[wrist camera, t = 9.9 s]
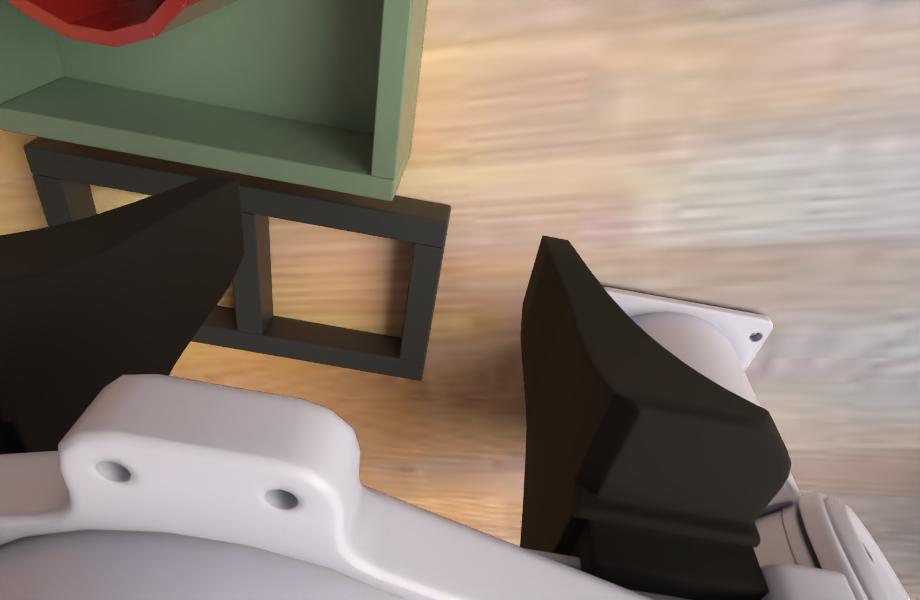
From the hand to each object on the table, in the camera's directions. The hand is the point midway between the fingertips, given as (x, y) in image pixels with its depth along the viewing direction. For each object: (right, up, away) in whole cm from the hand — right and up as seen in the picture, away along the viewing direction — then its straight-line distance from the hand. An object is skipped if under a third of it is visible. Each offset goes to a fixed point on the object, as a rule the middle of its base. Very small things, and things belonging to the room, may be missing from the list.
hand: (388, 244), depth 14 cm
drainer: (-7, +1, +12) cm, 14 cm away
